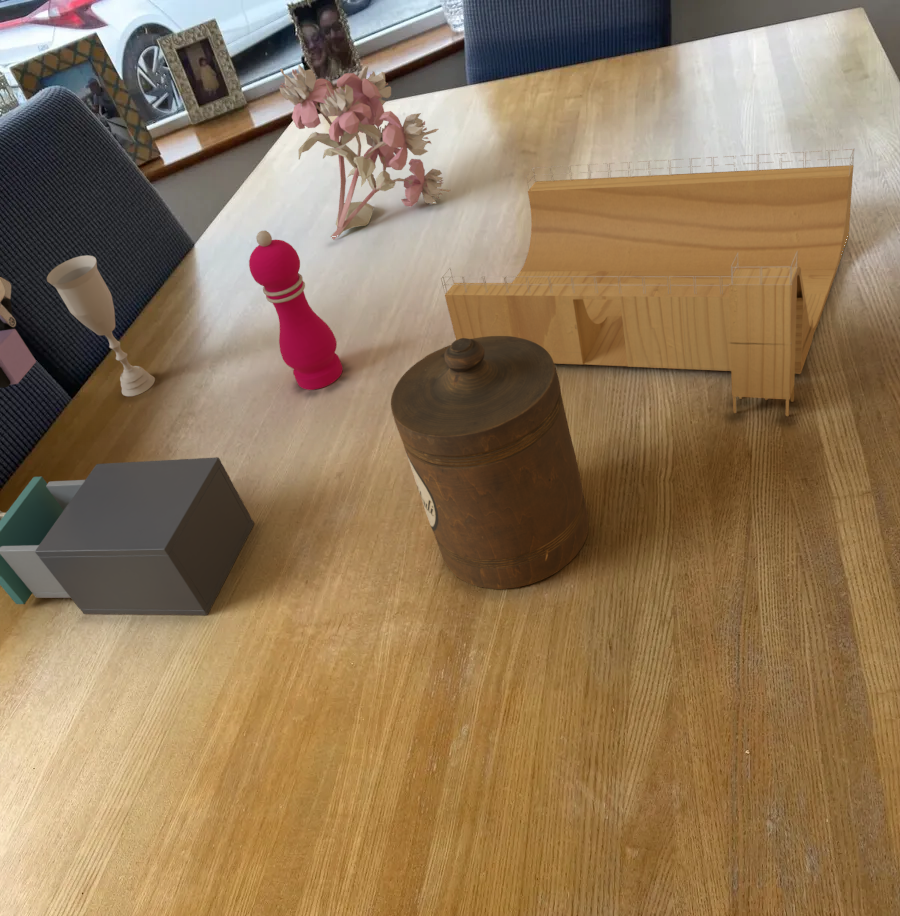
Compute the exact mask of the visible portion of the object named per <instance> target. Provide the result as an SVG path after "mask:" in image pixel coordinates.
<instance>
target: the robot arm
mask: <svg viewBox="0 0 900 916" xmlns="http://www.w3.org/2000/svg"><path fill="white" fill-rule="evenodd" d="M11 298H12V284H11V282H10V281H9V280H7V279H6V278H3V277H2V276H0V331H3V330H11V329H15V330H16V331H17V333H18V334H19V336H20V337H21V339H22V340H23V342H24V343H25V341H24V339H23V338H22V336H21V335H20V333H19V331H18V330H17V328H16V326H17V321H16V319H15V317H14V316H13V309H12V302H11ZM25 345H26V346H27V344H26V343H25ZM27 348H28V350H29V351H30V353H31V354H32V356H33V357H34V355H33V353H32V352H31V350H30V349H29V347H28V346H27ZM9 386H11V385H10V380H9V379H8V377H7V376H6V374H5V373H4V371H3V370H2V368H1V367H0V389H2V388H8V387H9Z"/></svg>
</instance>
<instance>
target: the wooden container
mask: <svg viewBox="0 0 900 916" xmlns="http://www.w3.org/2000/svg"><path fill="white" fill-rule="evenodd" d="M561 390H562V389H561V384H560V379H559V375H558V371H557V368H556V364H555V363H554V362H553V359H552V357H551V356H550V354H549V353H548V352H547V351H546V350H545V349H544V348H543V347H541V346H540V345H538V344H536V343H534V342H532V341H529V340H526V339H522V338H518V337H512V336H486V337H479V338H473V339H468V338H461V339H458V340H456V339H455V340H454V341H453V342H452V343H451V344H449V345H447V346H444V347H442V348H440V349H438V350H436V351H433V352H431V353H430V354H427V355H426V356H424V357H422V358H421V359H420V360H418V361H417V362H416V363H415V364H412V366H411V367H410V368H409V369H408V370H406V371H405V372H404V373H403V374H402V376H401V377H400V379H399V380H398V381H397V383H396V385H395V387H394V388H393V392H392V393H391V399H390V408H391V409H390V410H391V413H392V417H393V420H394V423H395V426H396V428H397V431H398V434H399V437H400V439H401V441H402V444H403V448H404V451H405V454H406V457H407V460H408V463H409V466H410V469H411V472H412V475H413V478H414V481H415V484H416V487H417V491H418V494H419V496H420V500H421V503H422V505H423V508H424V512H425V514H426V517H427V520H428V523H429V525H430V528H431V530H432V533H433V535H434V537H435V540H436V543H437V545H438V549H439V551H440V554H441V556H442V558H443V560H444V563H445V565H446V567H447V568H448V569H449V571H450V572H452V574H454V576H456V577H457V578H458V579H460V580H461V581H464V582H465V583H467V584H470V585H472V586H476V587H480V588H484V589H493V590H506V589H515V588H520V587H525V586H528V585H533V584H535V583H537V582H541V581H543V580H545V579H547V578H549V577H552V576H553V575H554V574H556V573H558V572H560V571H561V570H563V569H564V567H567V565H568V564H569V563H571V562H572V561H573V559H575V557H576V556H577V555H578V554H579V552H580V551H581V550H582V548H583V546H584V544H585V542H586V540H587V538H588V534H589V526H590V525H589V517H588V509H587V505H586V500H585V495H584V492H583V484H582V479H581V475H580V474H581V473H580V470H579V465H578V460H577V457H576V452H575V449H574V448H575V447H574V444H573V440H572V436H571V433H570V432H571V431H570V429H569V428H570V427H569V422H568V418H567V414H566V410H565V405H564V400H563V397H562V391H561Z"/></svg>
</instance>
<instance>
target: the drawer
mask: <svg viewBox="0 0 900 916" xmlns="http://www.w3.org/2000/svg"><path fill="white" fill-rule="evenodd" d="M85 480H86V479H77V480H76V479H74V480H53V481H51V480H50V481H48V483H47V481H46V480H45V479H44V477H43V476H33V477H32V479H31V480H30V481H29V482H28V484H27V485H26V486H25V487H24V489H23V490H22V492H21V493H20V494H19V495H18V497H17V498H16V500H14V502H13V503H12V504H11V506H10V507H9V509H8V510H7V511H6V512H3V511H1V510H0V587H1V588H2V589H3V590H4V592H5V593H6V594H7V595H8V597H10V599H11V600H12V601H13V602H14V604H15V605H25V604H26V603H27V602H28V600H29V599H30V597H31V596H32V595H33V596H34V597H35V598H36V599H37V598H38V599H39V598H41V599H42V598H43V599H44V598H45V599H47V598H51V599H52V598H55V599H57V598H58V599H59V598H60V599H62V598H64V599H71V597H70V596H69V595H68V594H67V592H66V591H65V590H64V588H63V587H62V586H61V585H60V583H59V582H58V581H57V580H56V578H55V577H54V576H53V575H52V573H51V572H50V571H49V569H48V568H47V567H46V566H45V564H44V563H43V562H42V561H41V559H40V558H39V556H38V555H37V554H36V553H35V550H36V549H37V547H38V546H39V545H40V543H41V542H42V540H43V539H44V538H45V536H46V535H47V533H48V532H49V531H50V529H51V528H52V526H53V525H54V524H55V522H56V521H57V519H58V518H59V516H60V515H61V514H62V512H63V511H64V509H65V508H66V507H67V505H68V504H69V502H70V501H71V500H72V498H73V497H74V495H75V494H76V493H77V491H78V490H79V488H80V487H81V485H82V484H83V483H84V481H85Z"/></svg>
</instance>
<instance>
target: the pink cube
mask: <svg viewBox="0 0 900 916" xmlns="http://www.w3.org/2000/svg"><path fill="white" fill-rule="evenodd" d="M15 329H16V328H15ZM15 329H11V330H3V331H0V367H1V368H2V370H3V371H4V373H5V374H6V376H7V377H8V379H9V380H10V385H9V386H11V385H18V384H19V383H20V382H21V381H22V379H23V378H24V377H25V376H26V375H27V373H28V372H29V371H30V370H31V369H32V368H33V366H34V365H35V364H36V363H37V360H36V358H35V357H34V355H33V353H32V352H31V350H30V349H29V347H28V346H27V344H26V343H25V341H24V339H23V338H22V336H21V335H20V333H19V332H18V330H17V329H16V330H17V331H16V330H15ZM17 332H18V333H19V334H18V333H17ZM19 335H20V336H21V337H20V336H19ZM21 338H22V339H23V340H22V339H21ZM23 341H24V342H23ZM25 344H26V345H25ZM27 347H28V348H27ZM28 349H29V350H30V351H29V350H28ZM30 352H31V353H32V354H31V353H30ZM32 355H33V356H32Z"/></svg>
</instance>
